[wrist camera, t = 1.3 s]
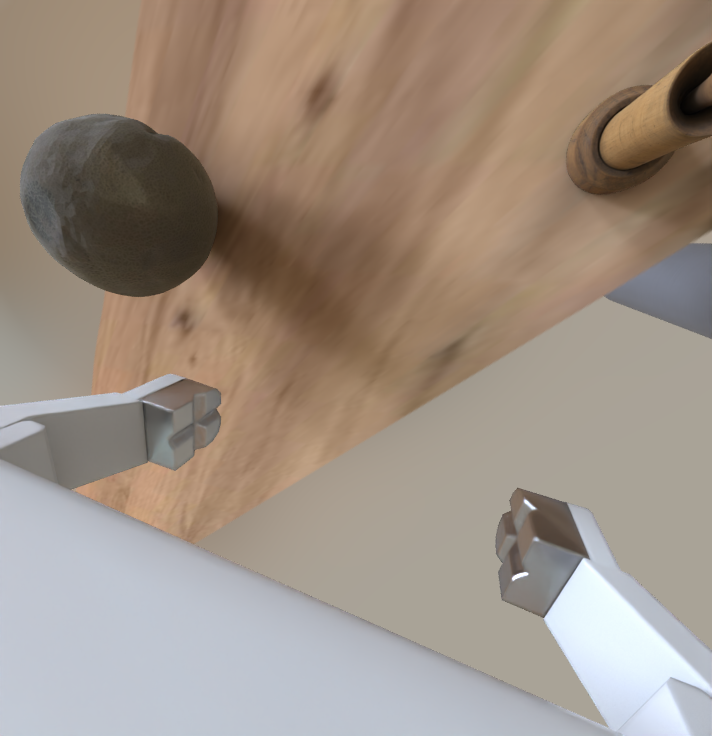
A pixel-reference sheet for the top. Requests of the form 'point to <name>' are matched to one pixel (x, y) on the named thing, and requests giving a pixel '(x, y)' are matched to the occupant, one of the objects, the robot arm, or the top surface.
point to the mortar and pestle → (642, 128)
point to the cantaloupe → (119, 204)
